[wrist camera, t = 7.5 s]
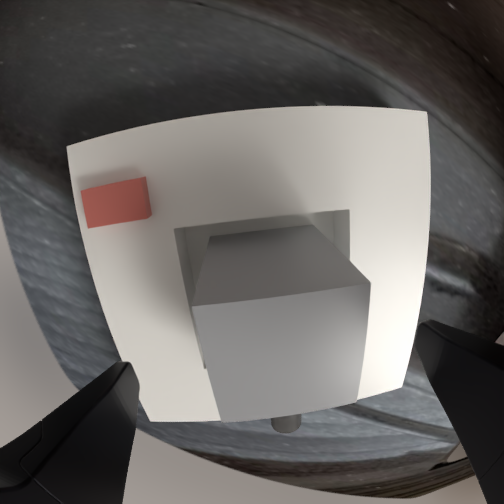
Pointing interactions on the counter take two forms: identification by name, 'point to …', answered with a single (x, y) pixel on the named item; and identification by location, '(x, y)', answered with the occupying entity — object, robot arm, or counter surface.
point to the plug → (280, 324)
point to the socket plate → (250, 227)
